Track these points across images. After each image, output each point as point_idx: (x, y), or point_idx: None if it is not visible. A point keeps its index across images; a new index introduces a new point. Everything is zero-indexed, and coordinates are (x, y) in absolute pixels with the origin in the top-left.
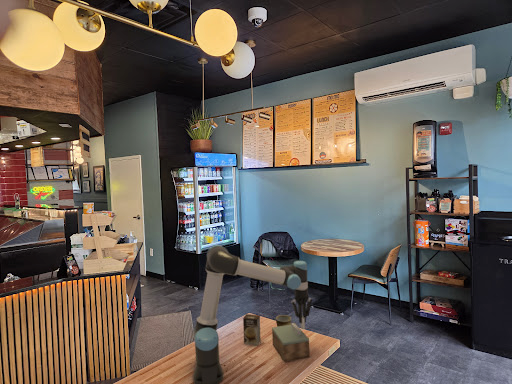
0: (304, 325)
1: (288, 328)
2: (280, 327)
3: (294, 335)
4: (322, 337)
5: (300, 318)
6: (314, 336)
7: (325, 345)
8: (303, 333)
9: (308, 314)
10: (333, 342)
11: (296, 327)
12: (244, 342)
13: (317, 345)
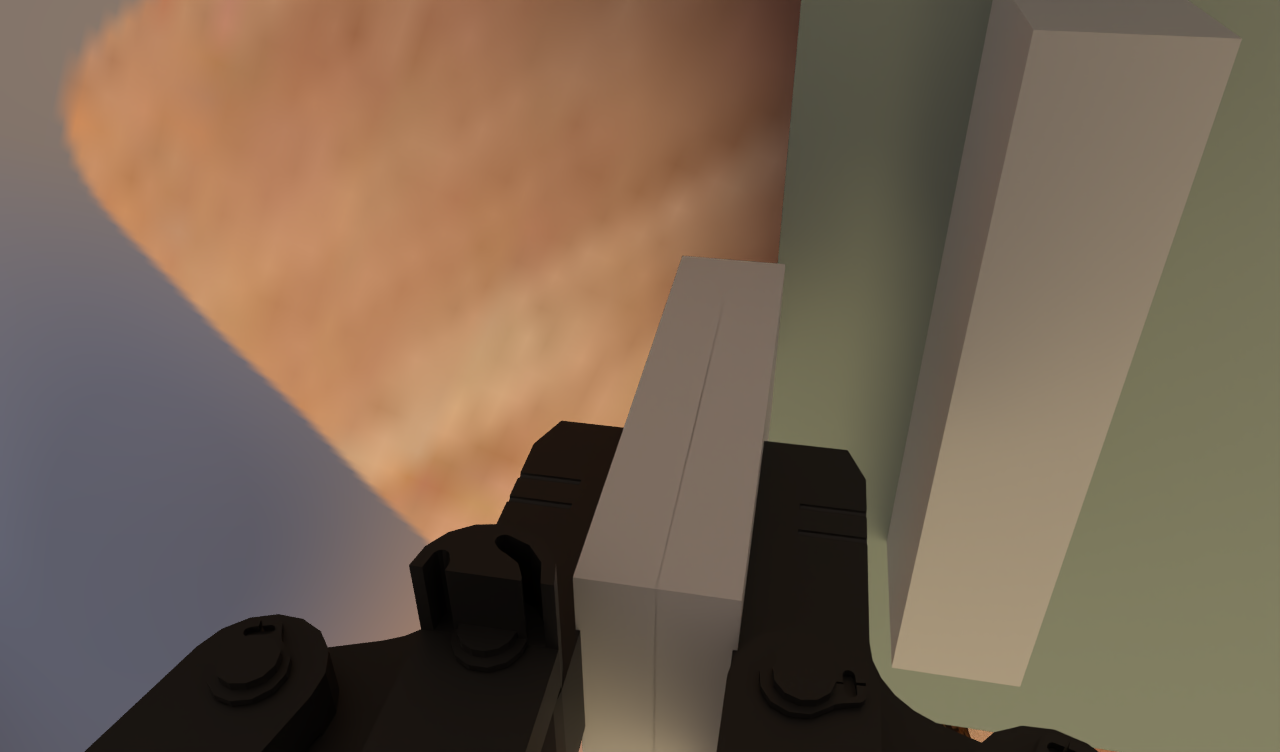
0: (670, 327)
1: (1087, 587)
2: (1266, 719)
3: (1261, 87)
4: (269, 321)
5: (823, 640)
6: (396, 403)
7: (285, 32)
8: (817, 103)
9: (200, 690)
10: (105, 80)
11: (1054, 368)
12: None
13: (445, 97)
